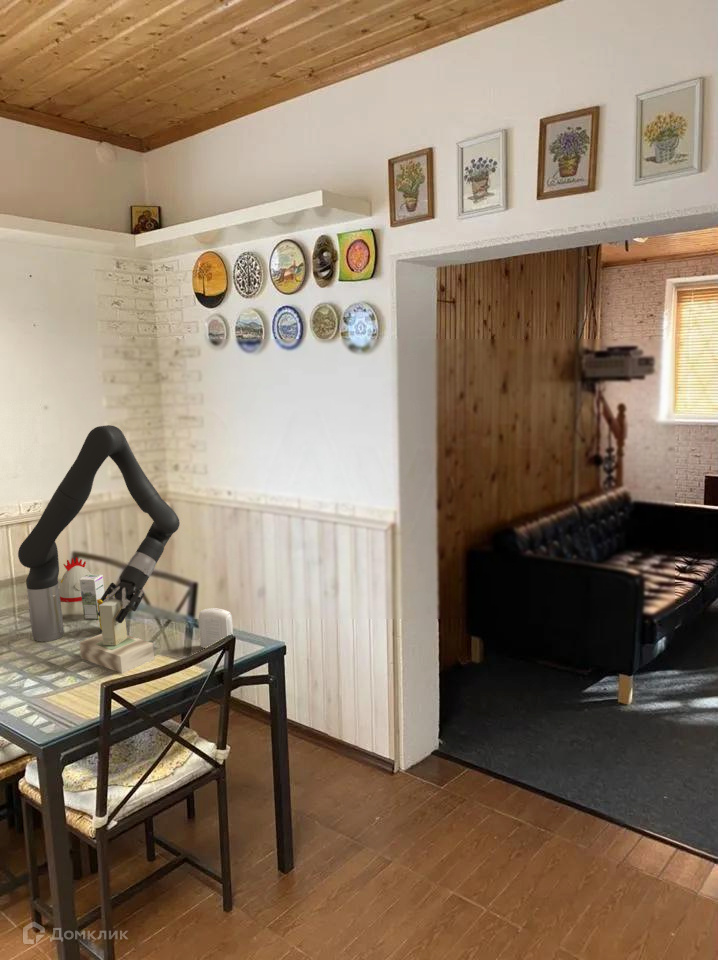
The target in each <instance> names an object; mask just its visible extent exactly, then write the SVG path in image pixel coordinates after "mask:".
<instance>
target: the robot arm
mask: <svg viewBox="0 0 718 960" xmlns="http://www.w3.org/2000/svg"><path fill="white" fill-rule="evenodd" d="M107 458H110V459H111V460H112V461H113V462H114V463H115V465H116V466H117V468H118V469H119V471H120V473H121V476H122V477H123V481H124V484H125V485H126V488H127V490H128V493H129V494H130V496H131V497H132V498H133V501H134V502H135V503H136V504H137V506H138V508H139V509H140V510H141V511H142V512H143V513H145V514H147V515H148V516H149V517H150V519H152V521H153V522H152V524H151V525H150V527H149V529H148V531H147V534H146V535H145V537H144V539H143V540H142V542H141V543H140V545H139V546H138V547H137V549H136V551H135V552H134V554H133V555H132V556H131V557H130V559H129V560H128V562H127V564H126V566H125V567H124V569H123V570H122V571H121V574H120V576H119V582H118V584H115V582H110V584H109V585H108V587H107V589H105V590H104V594H103V596H102V597H101V600H102V601H103V603H104V602H106V601H108V600H110V599H118V600H121V601H122V602H123V609H122V608H121V610H120V612H119V613H118V615H117V617H116V618H115V621H117V622H118V623H122V622H123V621H124V619H125V620H126V617H127V616H128V614H129V613H131V612H136V610H137V609H138V607H139V606H140V604H141V602H142V600H143V598H144V597H145V593H144V592H143V591H142V590H143V588H145V585H146V583H147V581H148V580H149V579H150V577H151V575H152V573H153V571H154V570H155V567H156V565H157V563H158V561H159V560H160V558H161V556H162V555H163V553H164V550H165V546H166V545H167V543H168V542H169V540H170V539H171V537H172V536H173V535H174V534H175V532H177V531H178V530H179V528H180V526H181V525H180V519H179V517H178V515H177V513H176V512H175V510H174V509H173V508H172V507H171V506H170V505H169V504H168V503H167V502H166V501H165V500H164V499H163V498H162V497H161V495H160V494H159V492H158V491H157V489H156V488H155V487H154V485H153V484H152V482H151V481H150V479H149V478H148V477H147V475H146V473H145V472H144V470H143V469H142V467H141V465H140V463H139V462H138V460H137V458H136V456H135V454H134V453H133V451H132V449H131V447H130V444H129V442H128V440H127V438H126V436H125V434H124V432H123V431H122V430H121V429H120V428H119V427H117V426H115V425H112V424H111V425H107V424H106V425H100V426H96V427H94V428H92V429H91V430H90V431H89V433H88V434H87V436H86V438H85V440H84V442H83V443H82V446H81V448H80V450H79V453H78V455H77V457H76V459H75V461H74V462H73V464H72V465H71V466H70V468H69V470H68V471H67V473H66V474H65V476H64V477H63V479H62V481H61V482H60V483H59V484H58V486H57V488H56V490H55V491H54V493H53V495H52V497H51V498H50V499H49V501H48V503H47V506H46V507H45V509H44V510H43V512H42V514H41V517H40V518H39V520H38V522H37V523H36V525H35V526H34V528H33V529H32V530H31V531H30V533H29V534H28V535H27V536H26V538H25V539H24V540H23V542H21V544H20V546H19V547H18V552H17V555H18V556H17V557H18V560H19V562H20V564H21V565H22V566H23V567H25V568H28V569H29V572H28V575H27V577H26V579H25V580H26V581H25V582H26V583H25V584H26V590H27V591H26V592H27V598H28V606H29V608H28V611H29V619H30V620H29V621H30V626H31V628H30V629H31V636H32V638H33V639H32V640H33V641H34V640H37V641H36V642H38V641H45V642H52V641H55V640H59V639H60V638H62V637H63V636H64V635H65V630H64V627H65V626H64V619H63V611H62V603H61V602H62V601H60V593H59V587H60V584H59V579H58V578H59V574H60V562H59V551H58V546H57V543H56V540H57V539H58V537H59V536H60V534H61V533H62V532H63V531H64V530H65V529H66V528H67V526H69V524H70V523H72V521H73V520H74V519H75V518H76V517H77V515H78V514H79V513H80V511H81V510H82V508H83V506H84V505H85V504H86V502H87V500H88V498H89V497H90V494H91V492H92V489H93V485H94V480H95V477H96V474H97V472H98V471H99V469H100V468H101V466H102V465H103V464H104V462H105V461H106V460H107ZM114 595H115V597H114ZM108 596H109V597H108ZM106 597H107V598H106ZM98 616H100V610H99V612H98Z"/></svg>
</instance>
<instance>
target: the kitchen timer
mask: <svg viewBox="0 0 718 960" xmlns="http://www.w3.org/2000/svg"><path fill="white" fill-rule="evenodd" d="M70 561H71V563H70ZM82 562H83V559H81V558H80V559H79V558H78V557H77V556H75V560H74V558H73V557H72V558H71V560H69V559H66V564H65V563H63V566H64V568H65V569H66V571H65V573H63V575H62V578H61V580H60V583H59V593H60V602H62V603H63V602H64V603H77V602H82V596H81V588H80V579H81V578H82V577H84V576H85V575H92V573H91V572H90V571H89V570H88V569H87V568H85V567H86V565H87V564H86V563H87V561H85V560H84V562H83V564H82Z"/></svg>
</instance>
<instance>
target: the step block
mask: <svg viewBox="0 0 718 960" xmlns="http://www.w3.org/2000/svg"><path fill="white" fill-rule="evenodd" d="M78 643H79V645H78V646H79V653H80V659H83V660H85V661H87V662H90V663H93V664H96V665H98V666H101V667H103V668H104V667H105V668H107V669H109V670H111V671H115V672H118V673H120V674H123V673H126V672H129V671H131V670H133V669H135V668H137V667H138V668H139V667H140V666H143V665H145V664H146V663H150V662H151V661H153V660H155V654H154V653H155V652H154V643H153V642H151V641H147V640H144V639H141V638H138V637H134V636H131V635H129V634H127V639H125V640H124V641H122V642H121V643H119V644H118V645H116V646H112V645H103V636H102V633H100V634H97V635H95V636H92V637H90V638H87V639H84V640H82V641H79V642H78Z"/></svg>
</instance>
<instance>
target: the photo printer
mask: <svg viewBox="0 0 718 960" xmlns="http://www.w3.org/2000/svg"><path fill="white" fill-rule="evenodd" d="M198 613H199V614H198V626H199V628H198V630H199V642H200V648H201V647H203V648H202V649H204V648H205V647H207V646H209V645H211V644H213V643H215V642H216V641H218V640H220V639H221V638H223V637H225V636H228V635H231V634H233V635H234V629H233V628H234V627H233V616H232V613H231V612H230V611H228V610H226V609H223V608H216V607H212V608H211V607H208V608H204V609H202V610H200V611H199V612H198Z"/></svg>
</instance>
